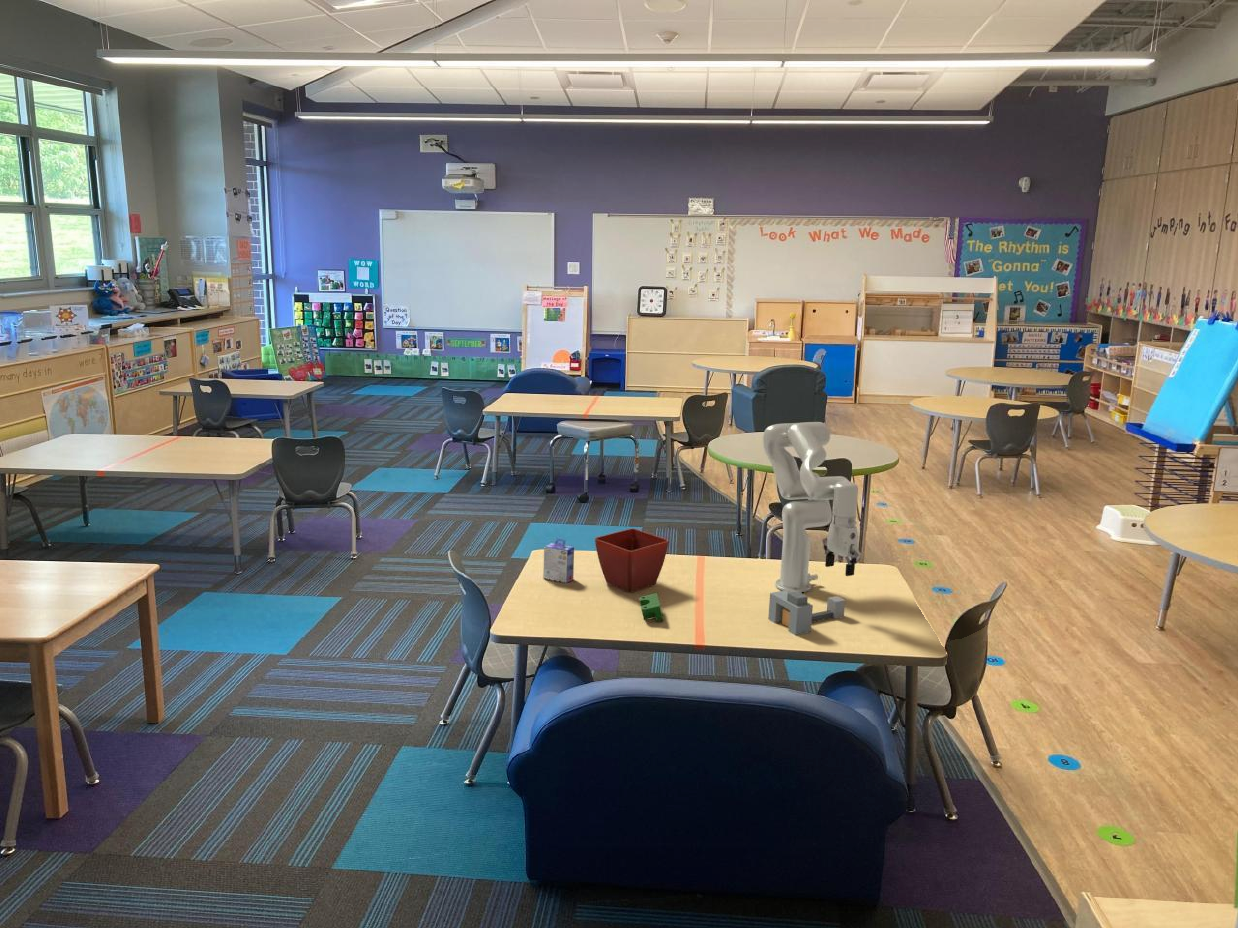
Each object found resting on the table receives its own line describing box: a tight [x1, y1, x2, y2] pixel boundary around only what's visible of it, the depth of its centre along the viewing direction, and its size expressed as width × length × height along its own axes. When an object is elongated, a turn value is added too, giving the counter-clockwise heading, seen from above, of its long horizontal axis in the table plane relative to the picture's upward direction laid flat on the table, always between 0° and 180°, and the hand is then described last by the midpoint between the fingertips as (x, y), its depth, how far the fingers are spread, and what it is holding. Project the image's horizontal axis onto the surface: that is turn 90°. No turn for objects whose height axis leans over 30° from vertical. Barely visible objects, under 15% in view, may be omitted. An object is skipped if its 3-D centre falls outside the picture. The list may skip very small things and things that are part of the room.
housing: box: [767, 590, 813, 636], centre depth 297 cm, size 6×14×12 cm, turn 28°
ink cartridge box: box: [542, 538, 575, 584], centre depth 331 cm, size 10×6×14 cm, turn 65°
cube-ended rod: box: [781, 595, 846, 628], centre depth 302 cm, size 22×5×6 cm, turn 118°
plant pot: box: [594, 527, 670, 593], centre depth 328 cm, size 19×19×17 cm
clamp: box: [639, 592, 664, 623], centre depth 302 cm, size 12×6×9 cm, turn 177°
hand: (839, 570), depth 303 cm, fingers open, 9 cm apart
